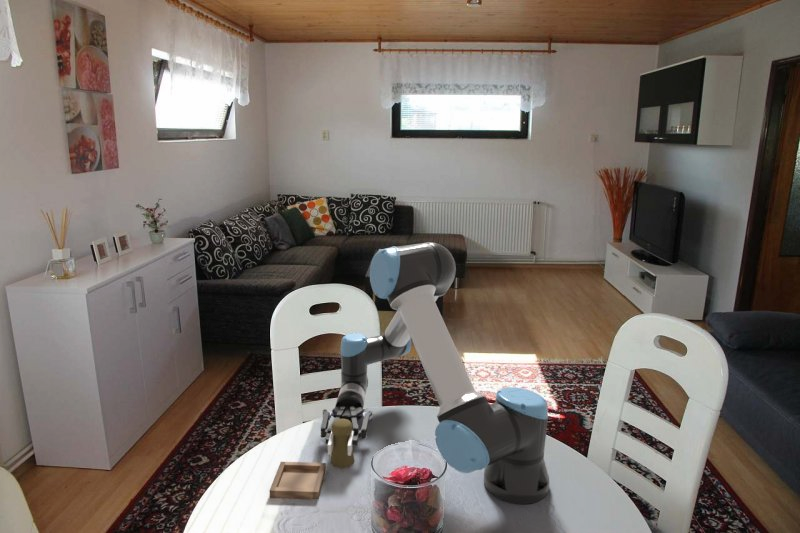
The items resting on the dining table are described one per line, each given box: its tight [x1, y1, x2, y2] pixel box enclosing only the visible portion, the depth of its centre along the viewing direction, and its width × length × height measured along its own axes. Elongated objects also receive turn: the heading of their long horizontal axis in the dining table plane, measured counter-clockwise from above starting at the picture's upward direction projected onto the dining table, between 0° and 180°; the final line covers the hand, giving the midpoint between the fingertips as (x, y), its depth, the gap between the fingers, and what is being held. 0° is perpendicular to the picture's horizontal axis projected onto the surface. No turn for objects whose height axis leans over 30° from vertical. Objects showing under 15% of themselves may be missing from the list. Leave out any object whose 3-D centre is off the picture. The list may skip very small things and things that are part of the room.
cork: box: [329, 419, 356, 469], centre depth 141 cm, size 6×6×11 cm
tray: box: [269, 461, 327, 501], centre depth 133 cm, size 11×11×2 cm
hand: (339, 450), depth 135 cm, fingers closed on cork, 4 cm apart
